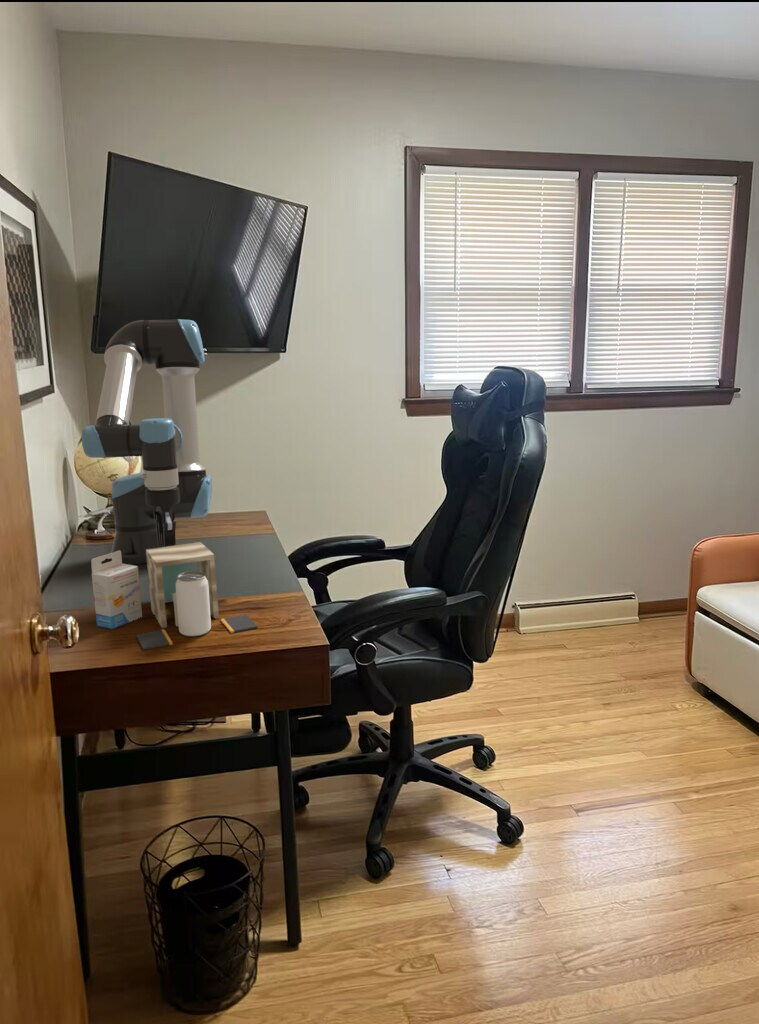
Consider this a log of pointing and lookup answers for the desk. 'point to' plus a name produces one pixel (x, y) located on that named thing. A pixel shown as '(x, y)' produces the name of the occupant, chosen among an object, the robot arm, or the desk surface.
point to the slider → (173, 583)
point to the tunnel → (174, 557)
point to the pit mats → (163, 639)
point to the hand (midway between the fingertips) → (169, 586)
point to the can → (193, 603)
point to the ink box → (115, 591)
